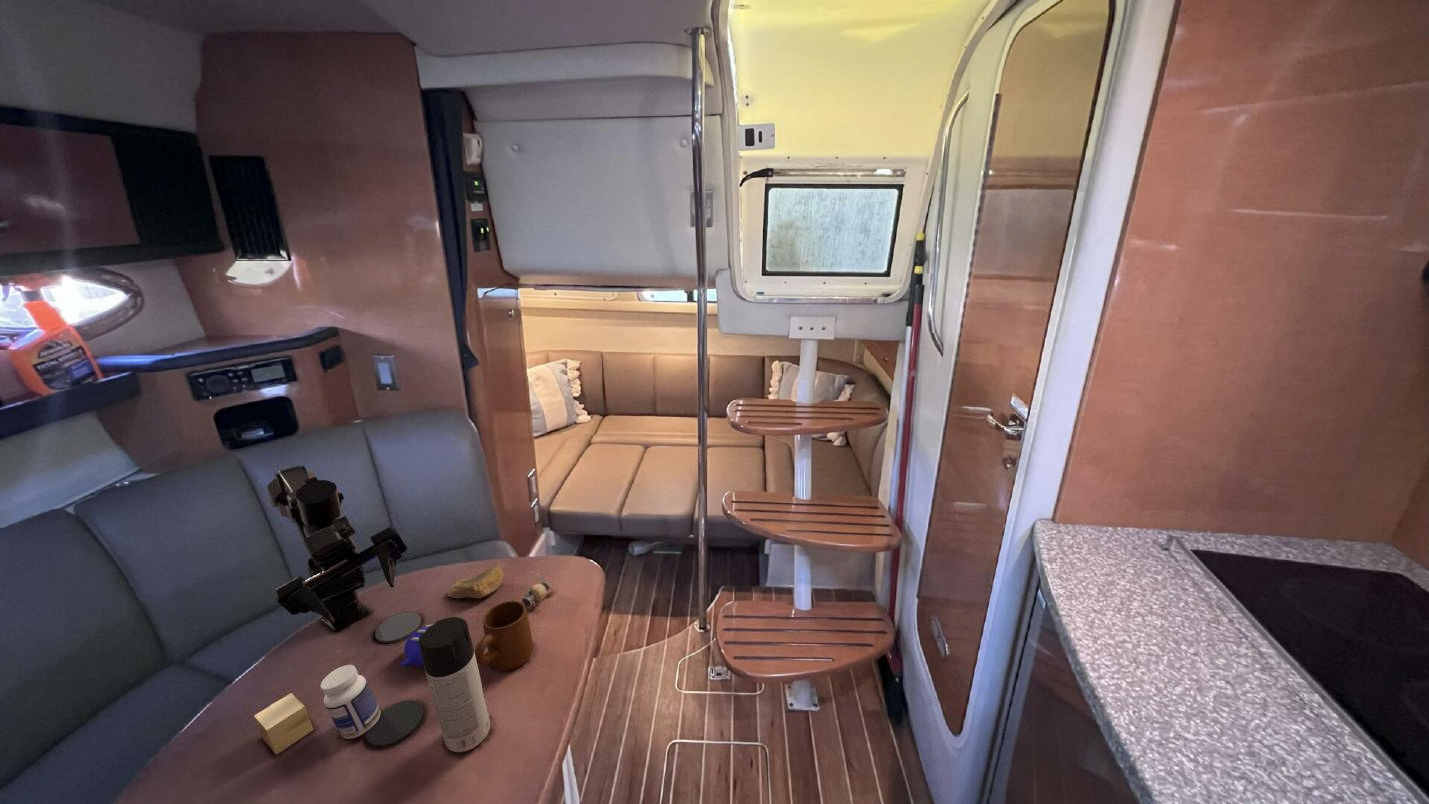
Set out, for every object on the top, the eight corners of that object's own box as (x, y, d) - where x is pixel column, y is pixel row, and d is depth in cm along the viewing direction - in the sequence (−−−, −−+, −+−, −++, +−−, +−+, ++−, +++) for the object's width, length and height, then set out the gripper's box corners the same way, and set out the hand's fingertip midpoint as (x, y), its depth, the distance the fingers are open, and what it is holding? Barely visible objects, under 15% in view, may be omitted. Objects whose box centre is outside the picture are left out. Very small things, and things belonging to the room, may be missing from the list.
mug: (502, 696, 90) (493, 651, 87) (464, 687, 92) (454, 644, 89) (542, 644, 100) (534, 603, 98) (507, 637, 102) (499, 597, 99)
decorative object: (383, 638, 94) (433, 609, 103) (385, 667, 95) (435, 635, 104) (424, 657, 90) (472, 625, 99) (426, 687, 91) (474, 652, 100)
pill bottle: (377, 702, 89) (355, 655, 86) (385, 721, 85) (363, 673, 82) (337, 726, 85) (313, 679, 82) (344, 747, 81) (319, 698, 78)
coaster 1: (367, 633, 105) (367, 631, 105) (407, 609, 111) (407, 607, 111) (388, 648, 101) (388, 646, 101) (429, 622, 107) (428, 620, 107)
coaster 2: (356, 731, 84) (356, 729, 84) (407, 695, 90) (406, 693, 90) (382, 756, 80) (381, 754, 80) (433, 716, 86) (432, 714, 86)
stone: (470, 589, 109) (440, 589, 114) (480, 608, 111) (450, 607, 115) (502, 562, 117) (472, 562, 121) (511, 579, 118) (481, 580, 123)
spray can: (500, 722, 85) (478, 619, 79) (469, 760, 79) (442, 653, 72) (467, 711, 87) (443, 611, 81) (434, 748, 81) (405, 642, 75)
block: (263, 739, 83) (253, 715, 82) (300, 715, 87) (291, 692, 86) (276, 755, 81) (266, 730, 79) (313, 730, 85) (304, 706, 83)
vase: (538, 574, 109) (516, 598, 107) (557, 591, 110) (535, 616, 108) (537, 571, 114) (515, 594, 112) (555, 588, 115) (534, 611, 113)
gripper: (244, 548, 84) (272, 620, 77) (368, 486, 94) (404, 545, 87) (279, 581, 92) (308, 650, 85) (391, 520, 102) (425, 577, 95)
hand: (362, 603), depth 87 cm, fingers open, 9 cm apart
